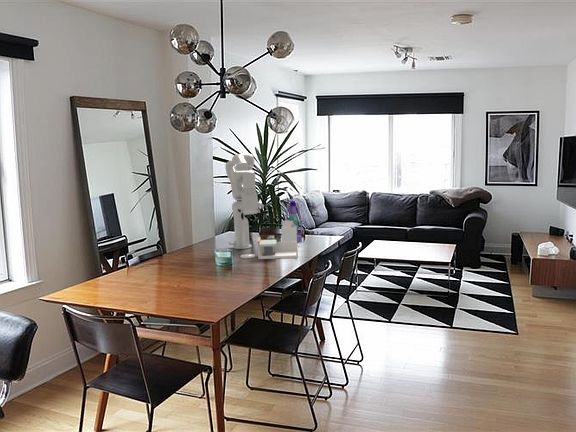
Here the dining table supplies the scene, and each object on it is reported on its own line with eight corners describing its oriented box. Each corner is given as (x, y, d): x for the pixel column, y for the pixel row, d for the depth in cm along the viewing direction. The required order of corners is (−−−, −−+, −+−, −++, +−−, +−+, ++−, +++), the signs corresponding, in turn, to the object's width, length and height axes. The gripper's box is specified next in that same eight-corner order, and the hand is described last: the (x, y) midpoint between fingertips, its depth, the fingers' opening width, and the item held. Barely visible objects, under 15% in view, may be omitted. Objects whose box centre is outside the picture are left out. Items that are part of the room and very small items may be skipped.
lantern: (289, 243, 391) (288, 200, 386) (281, 241, 401) (280, 199, 397) (306, 241, 397) (304, 198, 393) (298, 239, 407) (296, 197, 403)
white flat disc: (239, 258, 348) (239, 257, 347) (241, 255, 356) (241, 254, 356) (254, 258, 347) (254, 256, 347) (255, 255, 356) (255, 253, 356)
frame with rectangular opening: (258, 259, 344) (257, 247, 343) (259, 254, 359) (259, 242, 358) (298, 257, 344) (297, 245, 343) (297, 252, 359) (297, 241, 358)
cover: (257, 246, 343) (257, 241, 343) (259, 242, 358) (258, 237, 358) (276, 246, 343) (275, 240, 343) (276, 241, 358) (276, 236, 358)
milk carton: (290, 250, 366) (289, 221, 364) (282, 249, 370) (281, 221, 368) (297, 248, 372) (296, 220, 369) (288, 248, 376) (287, 219, 373)
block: (264, 257, 349) (264, 246, 348) (264, 255, 354) (264, 244, 353) (272, 257, 349) (272, 245, 348) (272, 255, 354) (272, 244, 353)
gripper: (234, 192, 344) (236, 220, 346) (263, 191, 343) (264, 219, 345) (235, 191, 351) (237, 219, 353) (263, 190, 351) (265, 218, 353)
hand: (250, 219), depth 349 cm, fingers open, 9 cm apart
